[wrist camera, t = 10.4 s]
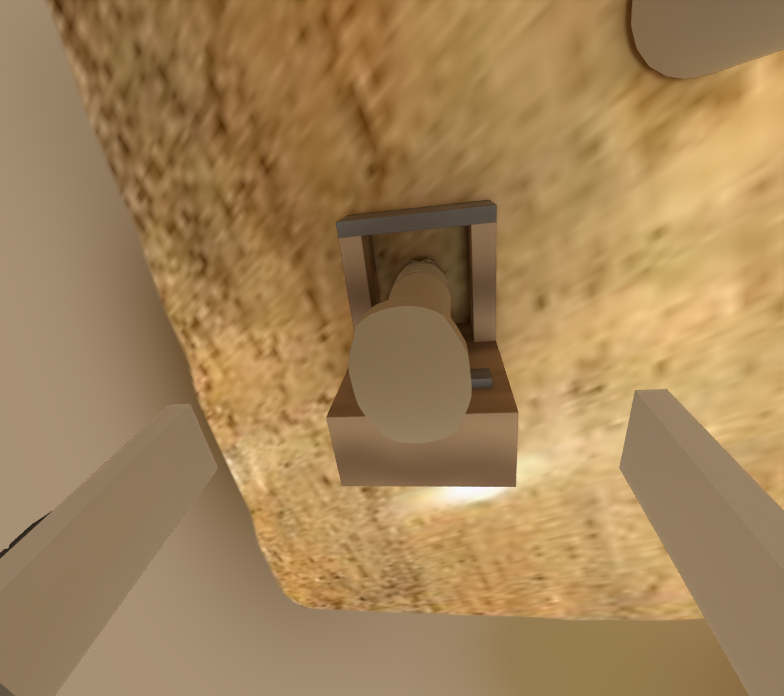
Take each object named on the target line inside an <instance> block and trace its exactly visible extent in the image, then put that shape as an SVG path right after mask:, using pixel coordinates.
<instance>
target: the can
mask: <svg viewBox="0 0 784 696" xmlns="http://www.w3.org/2000/svg"><path fill="white" fill-rule="evenodd" d="M631 28H632V32H633V36H634V40H635V44H636V48H637V50H638V51H639V53H640V54H641V56H642V57H643V58H644V60H645V61H646V63H647V64H648V66H649V67H651V68H653V69H654V70H656V71H658V72H660V73H661V74H663V75H665V76H666V77H674V78H682V79H691V78H695V77H700V76H704V75H708V74H712V73H715V72H718V71H721V70H724V69H727V68H730V67H733V66H736V65H739V64H742V63H745V62H748V61H751V60H754V59H757V58H760V57H763V56H766V55H769V54H772V53H775V52H778V51H781V50H784V0H632V17H631Z"/></svg>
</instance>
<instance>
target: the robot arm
mask: <svg viewBox="0 0 784 696" xmlns="http://www.w3.org/2000/svg"><path fill="white" fill-rule="evenodd" d="M619 468H620V470H621V472H622V473H623V475H624V477H625V479H626V480H627V482H628V484H629V486H630V487H631V489H632V491H633V493H634V494H635V496H636V498H637V500H638V501H639V503H640V505H641V507H642V508H643V510H644V512H645V514H646V515H647V517H648V519H649V521H650V522H651V524H652V526H653V528H654V529H655V531H656V533H657V535H658V536H659V538H660V540H661V542H662V543H663V545H664V547H665V549H666V551H667V552H668V554H669V556H670V558H671V559H672V561H673V563H674V565H675V566H676V568H677V570H678V572H679V573H680V575H681V577H682V579H683V580H684V582H685V584H686V586H687V587H688V589H689V591H690V593H691V594H692V596H693V598H694V600H695V601H696V603H697V605H698V607H699V608H700V610H701V612H702V614H703V615H704V617H705V619H706V621H707V622H708V624H709V626H710V628H711V629H712V631H713V633H714V635H715V636H716V638H717V640H718V642H719V643H720V645H721V647H722V649H723V651H724V652H725V654H726V656H727V658H728V659H729V661H730V662H731V665H732V666H733V668H734V670H735V672H736V673H737V675H738V677H739V679H740V680H741V682H742V684H743V686H744V687H745V689H746V691H747V693H748V694H749V696H784V510H783V509H782V508H781V507H780V506H779V505H778V504H777V503H776V502H775V501H774V500H773V499H772V498H771V497H770V496H769V495H768V494H767V493H766V492H765V491H764V490H763V489H762V488H761V486H760V485H759V484H758V483H757V482H756V481H755V480H754V479H753V478H752V477H751V476H750V475H749V474H748V473H747V472H746V471H745V470H744V469H743V468H742V467H741V466H740V465H739V464H738V463H737V462H736V461H735V459H734V458H733V457H732V456H731V455H730V454H729V453H728V452H727V451H726V450H725V449H724V448H723V447H722V446H721V445H720V444H719V443H718V442H717V441H716V440H715V439H714V438H713V437H712V436H711V435H710V434H709V433H708V431H707V430H706V429H705V428H704V427H703V426H702V425H701V424H700V423H699V422H698V421H697V420H696V419H695V418H694V417H693V416H692V415H691V414H690V413H689V412H688V411H687V410H686V409H685V408H684V407H683V406H682V404H681V403H680V402H679V401H678V400H677V399H676V398H675V397H674V396H673V395H672V394H671V393H670V392H669V391H668V390H667V389H660V390H635V393H634V398H633V403H632V408H631V413H630V418H629V423H628V428H627V433H626V438H625V443H624V448H623V452H622V457H621V462H620V467H619ZM216 470H217V465H216V463H215V461H214V458H213V456H212V454H211V451H210V449H209V447H208V444H207V442H206V440H205V437H204V435H203V433H202V431H201V428H200V426H199V423H198V421H197V419H196V417H195V414H194V412H193V410H192V407H191V405H190V404H174V405H173V404H171V405H168V406H167V407H166V408H165V409H164V410H162V411H161V412H160V413H159V414H158V415H157V416H156V417H155V418H154V419H152V420H151V421H150V422H149V423H148V424H147V425H146V426H145V427H144V428H143V429H142V430H141V431H139V432H138V433H137V434H136V435H135V436H134V437H133V438H132V439H131V440H130V441H128V442H127V443H126V444H125V445H124V446H123V447H122V448H121V449H120V450H119V451H118V452H116V453H115V454H114V455H113V456H112V457H111V458H110V459H109V460H108V461H107V462H105V463H104V464H103V465H102V466H101V467H100V468H99V469H98V470H97V471H96V472H95V473H93V474H92V475H91V476H90V477H89V478H88V479H87V480H86V481H85V482H84V483H82V484H81V485H80V486H79V487H78V488H77V489H76V490H75V491H74V492H73V493H72V494H71V495H69V496H68V497H67V498H66V499H65V500H64V501H63V502H62V503H61V504H60V505H58V506H57V507H56V508H55V509H54V510H53V511H51V512H50V513H48V514H47V515H45V516H44V517H42V518H41V519H39V520H38V521H36V522H35V523H33V524H32V525H31V526H30V527H29V528H27V529H26V530H25V531H24V532H23V533H22V534H21V535H20V536H18V537H17V538H16V539H15V540H14V541H13V542H12V543H11V544H10V545H9V548H8V549H4V550H3V551H2V552H1V553H0V696H55V695H56V694H57V692H58V691H59V690H60V688H61V687H62V685H63V683H65V681H66V680H67V678H68V677H69V676H70V674H71V673H72V671H73V670H74V669H75V667H76V666H77V664H78V663H79V662H80V660H81V659H82V657H83V656H84V655H85V653H86V652H87V650H88V649H89V648H90V646H91V645H92V643H93V642H94V640H95V639H96V638H97V636H98V635H99V634H100V632H101V631H102V629H103V628H104V627H105V625H106V624H107V622H108V621H109V620H110V618H111V617H112V615H113V614H114V613H115V611H116V610H117V608H118V607H119V605H120V604H121V603H122V601H123V600H124V599H125V597H126V596H127V594H128V593H129V592H130V590H131V589H132V587H133V586H134V585H135V583H136V582H137V580H138V579H139V578H140V576H141V575H142V573H143V572H144V571H145V569H146V568H147V566H148V565H149V564H150V562H151V561H152V559H153V558H154V557H155V555H156V554H157V552H158V551H159V550H160V548H161V547H162V545H163V544H164V543H165V541H166V540H167V538H168V537H169V536H170V534H171V533H172V532H173V530H174V529H175V527H176V526H177V524H178V523H179V522H180V520H181V519H182V517H183V516H184V515H185V513H186V512H187V510H188V509H189V508H190V506H191V505H192V503H193V502H194V501H195V499H196V498H197V497H198V495H199V494H200V492H201V491H202V489H203V488H204V487H205V485H206V484H207V483H208V481H209V480H210V478H211V477H212V476H213V474H214V473H215V471H216Z"/></svg>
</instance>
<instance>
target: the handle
mask: <svg viewBox="0 0 784 696" xmlns="http://www.w3.org/2000/svg"><path fill="white" fill-rule="evenodd" d="M450 316H451V295H450V289H449V285H448V282H447V279H446V276H445V274H444V272H443V271H442V270H441V269H440V268H439V267H438V266H437V265H435V264H434V261H433V259H430V258H426V259H424V260H421V261H415V260H412V261H410V262H409V263H408V264H407V265H406V267H405V268H404V269H403V270H402V271H401V273H400V274H399V275H398V277H397V279H396V280H395V282H394V284H393V287H392V290H391V292H390V295H389V300H387V301H384V302H382V303H379V304H377V305H375V306H374V307H372V308H371V309H369V310H368V311H367V312H366V313H365V314H364V315H362V317H361V318H360V320H359V322H358V324H357V327H356V331H355V334H354V338H353V342H352V346H351V350H350V354H349V364H348V367H349V374H350V379H351V383H352V387H353V390H354V394H355V398H356V400H357V403H358V405H359V407H360V409H361V410H362V412H363V413H364V415H365V416H366V417H367V418H368V420H369V421H370V422H371V423H372V424H373V425H374V427H375V428H376V429H377V430H378V431H379V432H380V433H381V435H382V436H384V437H386V438H389V439H391V440H395V441H398V442H404V443H427V442H433V441H437V440H441V439H444V438H446V437H448V436H450V435H452V434H453V433H455V432H456V431H457V430H458V428H459V426H460V424H461V422H462V420H463V418H464V416H465V413H466V411H467V409H468V407H469V403H470V400H471V395H472V384H471V374H470V364H469V356H468V349H467V345H466V341H465V340H464V338H463V336H462V335H461V333H460V331H459V329H458V328H457V326H456V325H455V323H454V321H453V320H452V318H451V317H450Z"/></svg>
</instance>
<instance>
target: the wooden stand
mask: <svg viewBox="0 0 784 696" xmlns="http://www.w3.org/2000/svg"><path fill="white" fill-rule="evenodd" d="M496 211H497V205H496V204H494V203H493V202H492V201H490V200H485V201H476V202H467V203H458V204H449V205H440V206H431V207H422V208H413V209H403V210H394V211H385V212H376V213H367V214H358V215H349V216H346V217H344V218H343V219H341V220H339V221H337V222H336V227H337V233H338V239H339V244H340V250H341V256H342V262H343V268H344V274H345V280H346V285H347V291H348V297H349V303H350V309H351V315H352V320H353V326H354V332H355V331H356V327H357V324H358V322H359V320H360V318H361V317H362V315H364V314H365V313H366V312H367V311H368V310H369V309H371V308H372V307H374V306H375V305H377V304H379V303H380V299H379V291H378V284H377V277H376V269H375V262H374V254H373V247H372V239H371V235H376V234H386V233H396V232H406V231H416V230H426V229H435V228H445V227H455V226H465V225H468V247H469V285H470V322H471V323H469V324H455V325H456V326H457V328H458V329H459V331H460V333H461V335H462V336H463V338H464V340H465V341H466V345H467V349H468V356H469V364H470V374H471V384H472V395H471V400H470V403H469V407H468V409H467V411H466V413H465V416H464V418H463V420H462V422H461V424H460V426H459V428H458V430H457V431H456V432H455V433H453V434H452V435H450V436H448V437H446V438H444V439H441V440H437V441H433V442H427V443H404V442H398V441H395V440H391V439H389V438H386V437H384V436H382V435H381V433H380V432H379V431H378V430H377V429H376V428H375V427H374V425H373V424H372V423H371V422H370V421H369V420H368V418H367V417H366V416H365V415H364V413H363V412H362V410H361V409H360V407H359V405H358V403H357V400H356V398H355V394H354V390H353V387H352V383H351V379H350V374H349V368H348V370H347V372H346V375H345V377H344V379H343V381H342V384H341V386H340V388H339V390H338V392H337V395H336V397H335V399H334V401H333V404H332V406H331V408H330V410H329V412H328V415H327V417H326V419H327V423H328V427H329V432H330V436H331V440H332V445H333V449H334V453H335V458H336V462H337V466H338V471H339V475H340V479H341V484H342V486H462V487H516V467H517V439H518V410H517V406H516V403H515V400H514V397H513V394H512V391H511V387H510V384H509V381H508V378H507V375H506V371H505V368H504V365H503V362H502V359H501V356H500V352H499V349H498V346H497V343H496Z"/></svg>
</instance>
